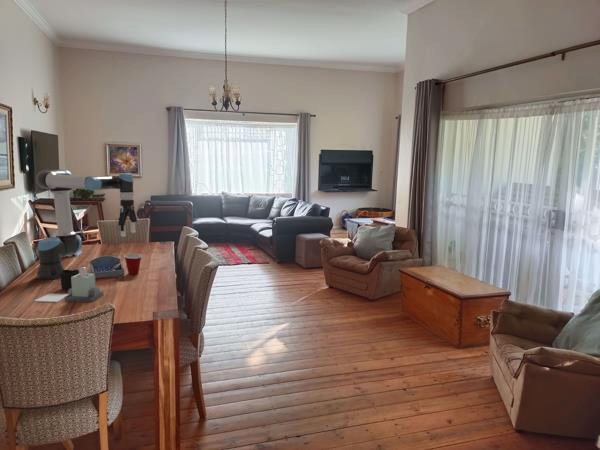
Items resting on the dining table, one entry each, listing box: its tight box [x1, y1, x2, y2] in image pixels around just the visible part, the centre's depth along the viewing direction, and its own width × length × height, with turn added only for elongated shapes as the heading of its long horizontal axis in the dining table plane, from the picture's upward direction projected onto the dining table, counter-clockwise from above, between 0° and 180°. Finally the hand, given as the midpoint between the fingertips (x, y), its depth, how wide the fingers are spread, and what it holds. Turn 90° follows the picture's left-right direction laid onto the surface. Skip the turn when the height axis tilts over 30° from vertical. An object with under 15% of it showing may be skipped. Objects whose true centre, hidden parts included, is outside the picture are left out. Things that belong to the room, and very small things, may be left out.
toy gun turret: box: [68, 230, 83, 257], centre depth 328 cm, size 12×13×18 cm
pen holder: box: [59, 269, 80, 291], centre depth 244 cm, size 9×9×10 cm
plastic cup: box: [123, 253, 143, 276], centre depth 276 cm, size 11×11×12 cm
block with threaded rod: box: [63, 266, 104, 303], centre depth 227 cm, size 14×12×16 cm
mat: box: [34, 293, 68, 304], centre depth 226 cm, size 12×12×1 cm
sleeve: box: [71, 272, 96, 297], centre depth 227 cm, size 8×8×10 cm
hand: (128, 234), depth 264 cm, fingers open, 13 cm apart
